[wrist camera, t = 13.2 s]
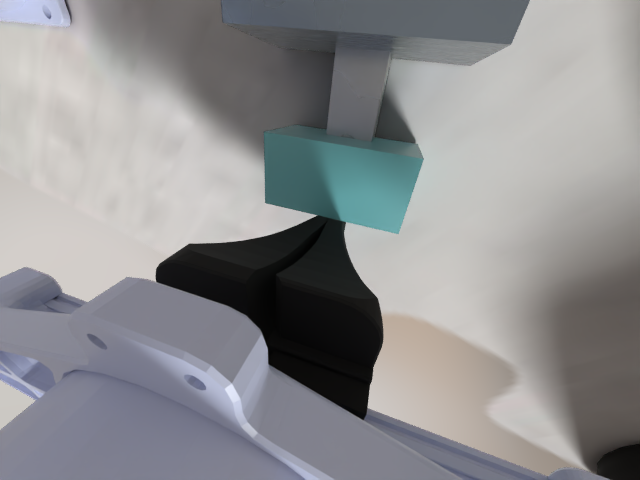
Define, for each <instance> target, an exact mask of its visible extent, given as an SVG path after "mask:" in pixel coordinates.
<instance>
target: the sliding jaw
mask: <svg viewBox="0 0 640 480" xmlns="http://www.w3.org/2000/svg"><path fill="white" fill-rule="evenodd" d="M529 1H530V0H221V7H222V19H223V23H225V24H227V25H229V26H231V27H234V28H236V29H238V30H240V31H243V32H245V33H247V34H249V35H252V36H254V37H256V38H258V39H261V40H263V41H265V42H267V43H270V44H272V45H274V46H276V47H279V48H288V49H299V50H309V51H320V52H331V53H335V59H334V68H333V77H332V86H331V95H330V104H329V113H328V121H327V130H326V129H320V128H314V127H307V126H301V125H293V126H288V127H284V128H279V129H274V130H270V131H265V132H264V160H265V203H267V204H272V205H276V206H280V207H285V208H289V209H293V210H298V211H302V212H306V213H310V214H315V215H319V216H323V217H328V218H332V219H336V220H340V221H345V222H349V223H353V224H358V225H362V226H366V227H371V228H375V229H379V230H383V231H388V232H392V233H396V234H399V231H400V228H401V225H402V222H403V219H404V216H405V213H406V210H407V207H408V204H409V201H410V198H411V195H412V192H413V189H414V186H415V183H416V180H417V177H418V174H419V171H420V168H421V165H422V162H423V156H422V153H421V151H420V148H419V146H418V144H414V143H408V142H402V141H395V140H389V139H383V138H377V137H375V133H376V128H377V123H378V119H379V114H380V109H381V105H382V100H383V96H384V91H385V86H386V82H387V77H388V72H389V68H390V63H391V59H392V58H394V59H405V60H416V61H426V62H437V63H448V64H458V65H469V66H471V65H473V64H475V63H476V62H478V61H480V60H482V59H484V58H486V57H488V56H490V55H492V54H494V53H496V52H498V51H500V50H501V49H503V48H505V47H507V46H509V45H511V43H512V41H513V39H514V36H515V34H516V32H517V29H518V27H519V25H520V22H521V20H522V18H523V15H524V13H525V10H526V8H527V6H528V3H529Z"/></svg>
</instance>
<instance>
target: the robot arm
mask: <svg viewBox="0 0 640 480" xmlns="http://www.w3.org/2000/svg"><path fill="white" fill-rule="evenodd" d="M0 21H5V22H16V23H27V24H37V25H48V26H59V27H69V25H70V21H71V20H70V16H69V13H68V10H67V7H66V4H65V1H64V0H0ZM345 224H346V222H345V221H340V220H336V219H332V218H328V217H323V216H319V215H318V216H316V217H314V218H312V219H309V220H307V221H305V222H303V223H301V224H299V225H297V226H294V227H292V228H289V229H287V230H284V231H281V232H278V233H275V234H272V235H268V236H264V237H260V238H255V239H249V240H244V241H236V242H227V243H206V244H188V245H187V246H185V247H184V248H182V249H181V250H179V251H178V252H176V253H175V254H173V255H172V256H170V257H169V258H167V259H166V260H164V261H163V262H162V263H160V264H159V266H158V267H157V269H156V282H154V281H151V280H148V279H140V278H131V277H126V278H125V279H123V280H122V281H120V282H119V283H117V284H116V285H114V286H112V287H111V288H110V289H108V290H106V291H105V292H103V293H102V294H100V295H98V296H97V297H95V298H94V299H92V300H91V301H89V302H86V301H83V300H80V299H78V298H75V297H72V296H70V295H67V294H65V293H62V289H61V287H60V286H59V284H58V283H57V282H56V280H55V279H54V278H52V277H51V276H49V275H48V274H45V273H42V272H40V271H37V270H34V269H31V268H28V267H24V268H22V269H19V270H17V271H15V272H13V273H10V274H8V275H6V276H3V277H1V278H0V380H1V381H3V382H4V383H6V384H8V385H10V386H12V387H14V388H15V389H17V390H19V391H20V392H22V393H24V394H26V395H27V396H29V397H31V398H33V399H34V400H36V401H35V402H34V403H33V404H31V405H30V406H29V407H28V408H26V409H25V410H24V411H23V412H22V413H20V414H19V415H18V416H17V417H16V418H14V419H13V420H12V421H11V422H10V423H8V424H7V425H6V426H5V427H3V428H2V429H1V430H0V480H610V479H607V478H604V477H602V476H599V475H596V474H594V473H591V472H588V471H585V470H582V469H578V468H569V467H564V468H560V469H557V470H555V471H554V472H552V473H551V474H550V475H549V476H545V475H543V474H540V473H537V472H535V471H532V470H529V469H527V468H524V467H521V466H519V465H516V464H514V463H511V462H508V461H506V460H503V459H500V458H498V457H495V456H493V455H490V454H487V453H484V452H481V451H479V450H477V449H474V448H471V447H468V446H466V445H463V444H461V443H458V442H456V441H453V440H450V439H447V438H445V437H442V436H440V435H437V434H434V433H432V432H429V431H426V430H424V429H421V428H419V427H416V426H413V425H410V424H408V423H405V422H403V421H400V420H397V419H394V418H392V417H389V416H387V415H384V414H382V413H379V412H376V411H373V410H371V409H368V408H367V406H368V397H369V388H370V384H371V382H372V376H373V367H374V364H375V362H376V360H377V357H378V355H379V352H380V350H381V348H382V344H383V323H382V316H381V310H380V306H379V301H378V298H377V297H376V296H375V295H374V294H373V293H372V292H371V291H370V290H369V288H368V287H367V286H366V285H365V284H364V283H363V281H362V280H361V279H360V277H359V275H358V274H357V272H356V270H355V269H354V267H353V264H352V262H351V260H350V257H349V255H348V252H347V248H346V244H345V238H344V230H345Z"/></svg>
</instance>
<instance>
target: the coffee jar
mask: <svg viewBox="0 0 640 480" xmlns="http://www.w3.org/2000/svg"><path fill="white" fill-rule="evenodd" d="M597 465H598V472H597V474H596V475H599V476H602V477H604V478H607V479H610V480H640V445H634V446H628V447H623V448H620V449H617V450H615V451H613V452H610V453H608V454H606V455H604V457H603V458H602V459H601V460H600V461H599V462H598V464H597Z"/></svg>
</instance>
